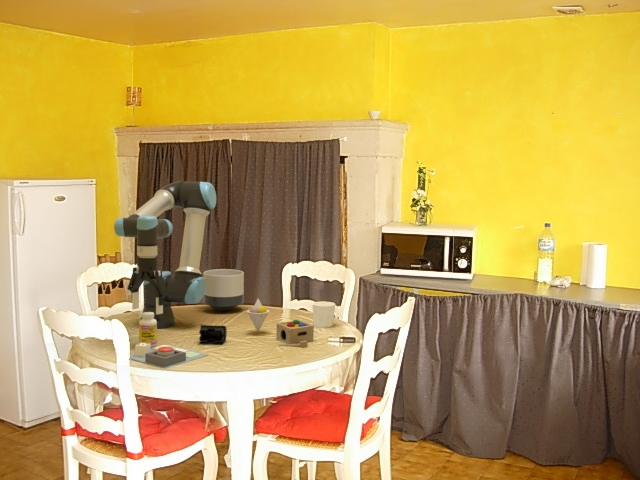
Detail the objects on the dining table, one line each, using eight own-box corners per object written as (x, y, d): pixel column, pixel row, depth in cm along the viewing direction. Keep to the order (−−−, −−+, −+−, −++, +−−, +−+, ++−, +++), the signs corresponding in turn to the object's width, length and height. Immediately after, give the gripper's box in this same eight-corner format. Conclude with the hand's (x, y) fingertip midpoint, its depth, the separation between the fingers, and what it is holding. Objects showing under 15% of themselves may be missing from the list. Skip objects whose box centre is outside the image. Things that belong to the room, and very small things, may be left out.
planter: (248, 305, 345) (249, 270, 343) (235, 314, 326) (235, 276, 324) (212, 303, 349) (212, 268, 347) (197, 311, 331) (197, 274, 329)
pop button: (153, 360, 248) (153, 348, 248) (166, 356, 253) (166, 345, 252) (165, 363, 245) (165, 351, 244) (177, 359, 249) (177, 348, 249)
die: (135, 355, 254) (135, 344, 254) (141, 353, 258) (141, 342, 258) (144, 357, 253) (144, 346, 253) (150, 354, 257) (150, 343, 256)
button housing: (145, 361, 248) (145, 353, 247) (166, 355, 256) (166, 347, 255) (164, 367, 242) (164, 358, 242) (185, 360, 250) (185, 352, 250)
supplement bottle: (138, 348, 266) (138, 315, 265) (139, 343, 273) (139, 311, 271) (156, 347, 268) (156, 314, 266) (157, 343, 274) (156, 311, 273)
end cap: (226, 340, 280) (226, 324, 280) (223, 345, 273) (223, 328, 272) (202, 339, 281) (202, 323, 280) (198, 344, 274) (198, 327, 273)
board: (123, 358, 254) (123, 355, 253) (167, 345, 271) (167, 343, 271) (165, 369, 241) (165, 367, 241) (208, 356, 258) (208, 354, 258)
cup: (308, 327, 305) (308, 304, 304) (317, 322, 314) (317, 300, 313) (329, 329, 301) (330, 307, 300) (337, 324, 311) (338, 302, 309)
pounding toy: (264, 343, 278) (264, 323, 277) (294, 335, 291) (295, 316, 290) (296, 352, 266) (296, 331, 265) (326, 344, 279) (327, 324, 278)
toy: (265, 336, 288) (265, 300, 286) (243, 334, 289) (244, 299, 288) (271, 331, 297) (272, 296, 295) (250, 329, 299) (250, 295, 297)
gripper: (118, 254, 270) (118, 308, 273) (162, 260, 256) (162, 317, 258) (133, 252, 276) (133, 305, 279) (177, 258, 262) (177, 314, 264)
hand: (147, 311), depth 268 cm, fingers open, 13 cm apart
